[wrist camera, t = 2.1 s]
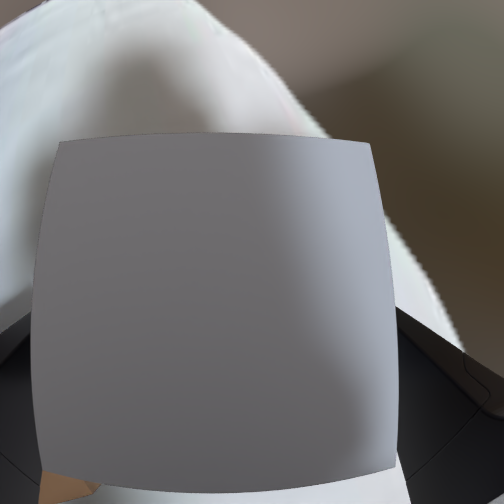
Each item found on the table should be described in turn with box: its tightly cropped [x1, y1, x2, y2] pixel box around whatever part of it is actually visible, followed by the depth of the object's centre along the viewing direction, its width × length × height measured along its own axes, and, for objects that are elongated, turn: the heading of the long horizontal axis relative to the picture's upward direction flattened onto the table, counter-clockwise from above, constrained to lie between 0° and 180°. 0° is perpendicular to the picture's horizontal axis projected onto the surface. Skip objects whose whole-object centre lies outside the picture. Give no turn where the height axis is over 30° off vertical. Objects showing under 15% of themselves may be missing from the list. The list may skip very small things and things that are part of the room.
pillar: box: [31, 133, 399, 493], centre depth 10 cm, size 5×5×13 cm
